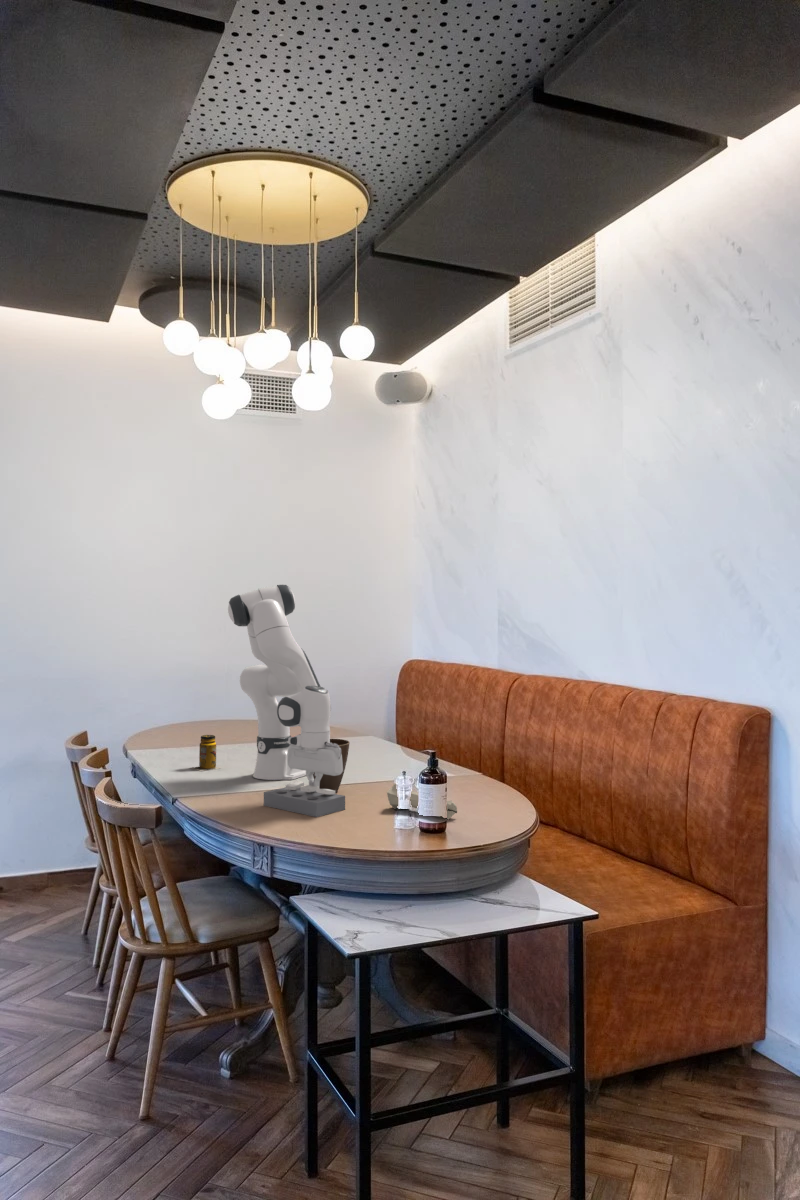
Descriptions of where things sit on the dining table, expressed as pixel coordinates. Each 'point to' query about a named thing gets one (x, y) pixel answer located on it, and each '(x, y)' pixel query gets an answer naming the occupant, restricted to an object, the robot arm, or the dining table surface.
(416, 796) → the faceted club
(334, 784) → the plant pot
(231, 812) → the dining table surface
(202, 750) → the condiment
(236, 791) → the dining table surface
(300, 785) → the rocker
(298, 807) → the switch panel
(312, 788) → the rocker
